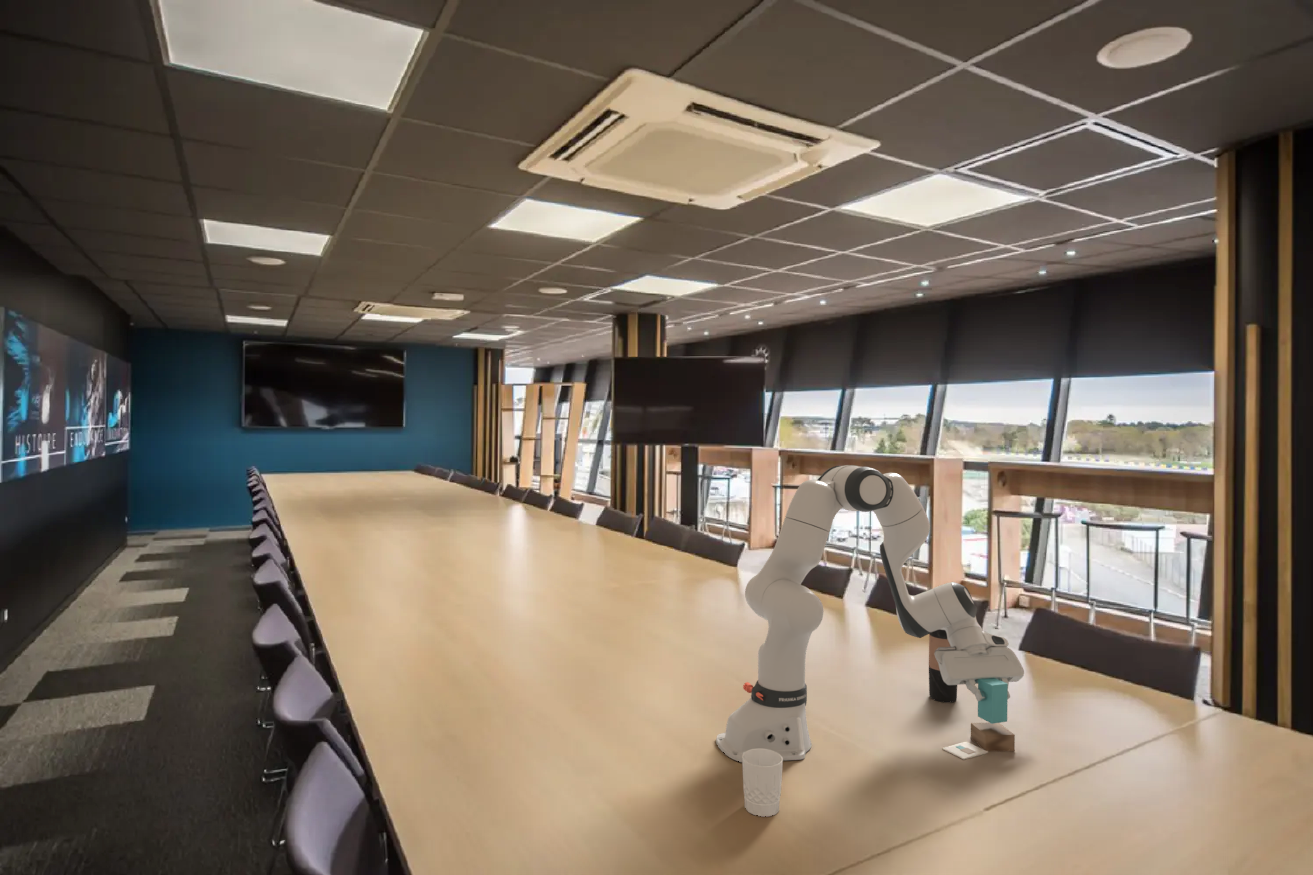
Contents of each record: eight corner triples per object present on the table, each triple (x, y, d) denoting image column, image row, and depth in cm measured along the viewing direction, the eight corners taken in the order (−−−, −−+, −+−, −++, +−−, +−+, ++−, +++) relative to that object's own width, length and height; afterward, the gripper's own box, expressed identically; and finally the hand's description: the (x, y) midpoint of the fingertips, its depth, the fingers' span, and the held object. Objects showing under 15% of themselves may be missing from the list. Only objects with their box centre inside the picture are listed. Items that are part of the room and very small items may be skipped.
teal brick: (991, 723, 165) (992, 685, 165) (977, 716, 169) (978, 678, 169) (1007, 721, 166) (1007, 683, 166) (992, 714, 171) (993, 677, 171)
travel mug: (940, 704, 193) (940, 631, 193) (922, 694, 200) (923, 624, 200) (963, 701, 195) (964, 629, 195) (945, 691, 202) (946, 622, 202)
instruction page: (963, 759, 159) (963, 757, 159) (942, 749, 165) (942, 747, 165) (987, 752, 163) (987, 751, 163) (965, 742, 168) (965, 740, 168)
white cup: (777, 797, 142) (778, 748, 142) (786, 818, 134) (786, 766, 134) (738, 797, 142) (739, 748, 142) (745, 819, 134) (745, 766, 134)
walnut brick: (985, 752, 164) (985, 734, 164) (970, 739, 171) (970, 722, 171) (1014, 751, 164) (1014, 734, 164) (998, 738, 171) (998, 722, 171)
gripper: (936, 641, 173) (959, 695, 163) (1012, 638, 176) (1039, 691, 166) (927, 653, 177) (948, 707, 168) (1000, 650, 181) (1026, 702, 171)
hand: (994, 699), depth 167 cm, fingers closed on teal brick, 5 cm apart
